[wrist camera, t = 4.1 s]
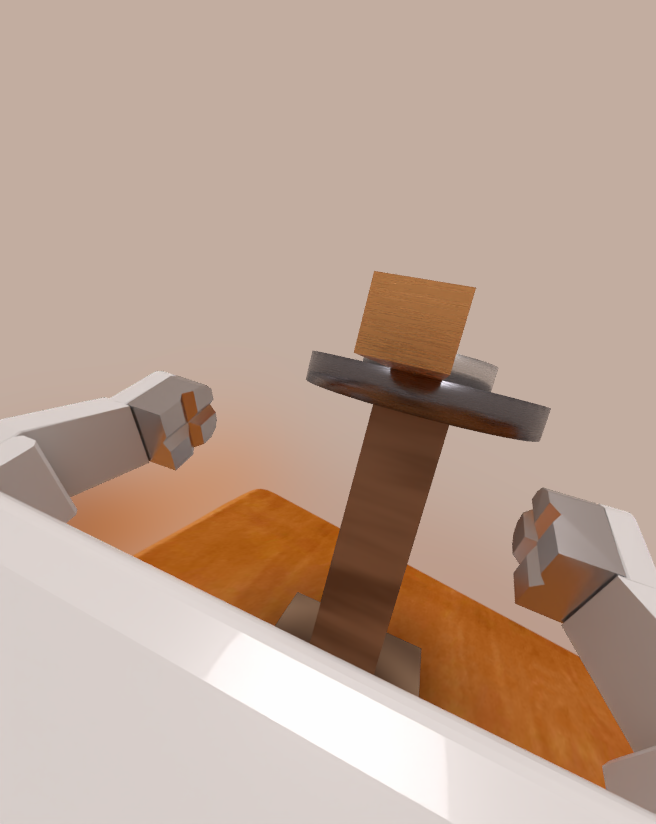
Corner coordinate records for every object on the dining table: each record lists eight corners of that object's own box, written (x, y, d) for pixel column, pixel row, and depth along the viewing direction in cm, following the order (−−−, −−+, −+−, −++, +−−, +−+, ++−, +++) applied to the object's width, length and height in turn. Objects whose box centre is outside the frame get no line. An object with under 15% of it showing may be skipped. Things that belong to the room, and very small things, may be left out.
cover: (617, 414, 8) (655, 312, 7) (238, 325, 10) (254, 247, 10) (480, 393, 31) (488, 368, 30) (373, 367, 33) (379, 344, 33)
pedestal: (431, 883, 18) (603, 419, 14) (188, 728, 23) (272, 339, 19) (432, 657, 33) (516, 402, 30) (287, 590, 38) (344, 360, 34)
